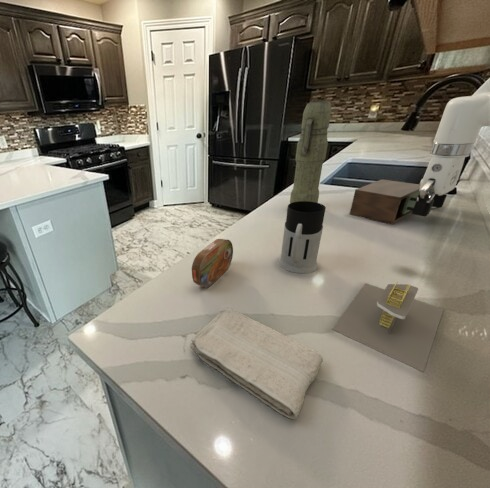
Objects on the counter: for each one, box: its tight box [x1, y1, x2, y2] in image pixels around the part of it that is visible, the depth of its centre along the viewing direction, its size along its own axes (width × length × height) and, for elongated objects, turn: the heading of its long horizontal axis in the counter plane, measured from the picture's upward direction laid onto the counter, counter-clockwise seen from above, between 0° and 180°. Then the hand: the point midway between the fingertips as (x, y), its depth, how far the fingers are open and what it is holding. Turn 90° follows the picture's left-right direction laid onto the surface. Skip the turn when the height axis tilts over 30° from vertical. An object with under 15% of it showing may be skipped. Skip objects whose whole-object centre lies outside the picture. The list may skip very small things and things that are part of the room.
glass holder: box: [277, 201, 326, 274], centre depth 59 cm, size 9×14×15 cm, turn 147°
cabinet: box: [349, 179, 421, 226], centre depth 84 cm, size 12×16×8 cm
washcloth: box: [189, 307, 324, 420], centre depth 42 cm, size 12×18×3 cm, turn 46°
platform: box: [332, 280, 444, 373], centre depth 45 cm, size 12×18×7 cm, turn 131°
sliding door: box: [401, 191, 434, 216], centre depth 78 cm, size 6×7×6 cm
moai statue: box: [289, 99, 332, 204], centre depth 87 cm, size 9×12×35 cm
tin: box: [191, 238, 234, 289], centre depth 62 cm, size 15×3×8 cm, turn 139°
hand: (426, 210), depth 76 cm, fingers open, 9 cm apart
